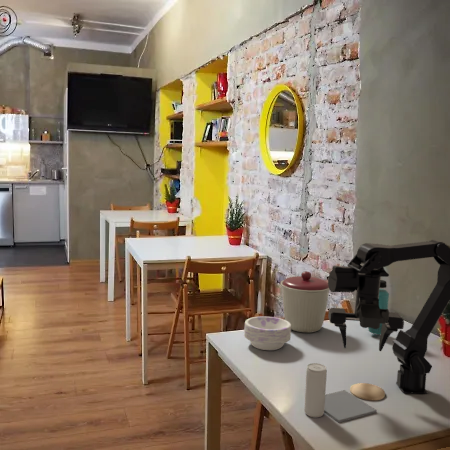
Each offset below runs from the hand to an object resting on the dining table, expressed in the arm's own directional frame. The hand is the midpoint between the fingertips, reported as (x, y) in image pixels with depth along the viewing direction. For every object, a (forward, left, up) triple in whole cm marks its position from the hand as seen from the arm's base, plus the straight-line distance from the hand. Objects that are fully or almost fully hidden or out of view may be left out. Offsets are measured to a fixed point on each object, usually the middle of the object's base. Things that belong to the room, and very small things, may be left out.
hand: (362, 349), depth 140 cm
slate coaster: (+7, +9, -12) cm, 16 cm away
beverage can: (+15, +13, -12) cm, 23 cm away
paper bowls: (+22, -33, -12) cm, 41 cm away
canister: (+7, -51, -12) cm, 52 cm away
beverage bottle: (-18, -44, -12) cm, 49 cm away
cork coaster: (-2, 0, -12) cm, 12 cm away
